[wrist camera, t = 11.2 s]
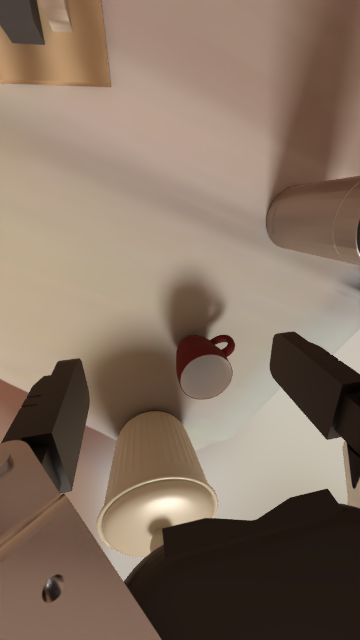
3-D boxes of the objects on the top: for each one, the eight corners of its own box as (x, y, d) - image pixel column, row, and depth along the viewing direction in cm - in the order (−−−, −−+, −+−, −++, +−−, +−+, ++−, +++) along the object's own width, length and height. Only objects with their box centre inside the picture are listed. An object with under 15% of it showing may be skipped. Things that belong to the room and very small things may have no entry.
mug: (207, 307, 43) (228, 332, 34) (231, 338, 46) (255, 368, 37) (160, 343, 44) (168, 377, 35) (186, 371, 47) (199, 408, 38)
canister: (86, 439, 49) (60, 581, 30) (149, 380, 47) (162, 496, 28) (152, 472, 57) (164, 603, 38) (210, 422, 54) (254, 537, 35)
